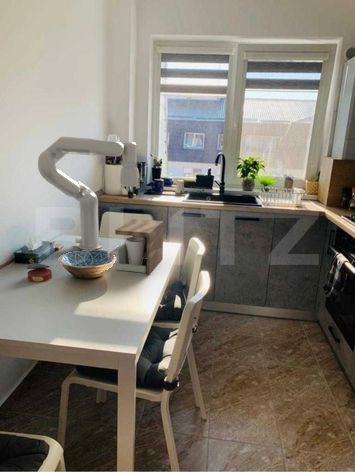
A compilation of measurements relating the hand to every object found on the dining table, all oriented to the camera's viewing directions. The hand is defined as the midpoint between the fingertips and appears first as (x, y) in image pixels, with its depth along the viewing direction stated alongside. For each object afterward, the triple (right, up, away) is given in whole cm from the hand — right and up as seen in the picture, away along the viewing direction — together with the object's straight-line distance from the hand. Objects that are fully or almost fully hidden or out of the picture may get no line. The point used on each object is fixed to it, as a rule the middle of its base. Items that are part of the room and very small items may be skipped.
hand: (130, 198), depth 201 cm
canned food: (-34, -40, -45) cm, 69 cm away
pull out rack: (+4, -35, -25) cm, 43 cm away
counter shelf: (+8, -36, -26) cm, 44 cm away
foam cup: (+6, -36, -25) cm, 44 cm away
